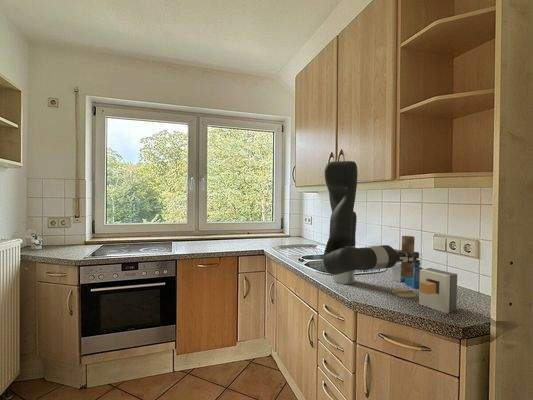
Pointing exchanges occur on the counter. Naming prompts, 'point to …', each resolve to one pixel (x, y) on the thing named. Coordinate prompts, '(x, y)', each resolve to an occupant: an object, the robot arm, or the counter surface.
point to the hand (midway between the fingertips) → (411, 253)
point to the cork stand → (404, 293)
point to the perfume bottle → (414, 276)
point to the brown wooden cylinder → (408, 246)
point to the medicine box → (397, 273)
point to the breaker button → (427, 287)
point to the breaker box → (439, 290)
